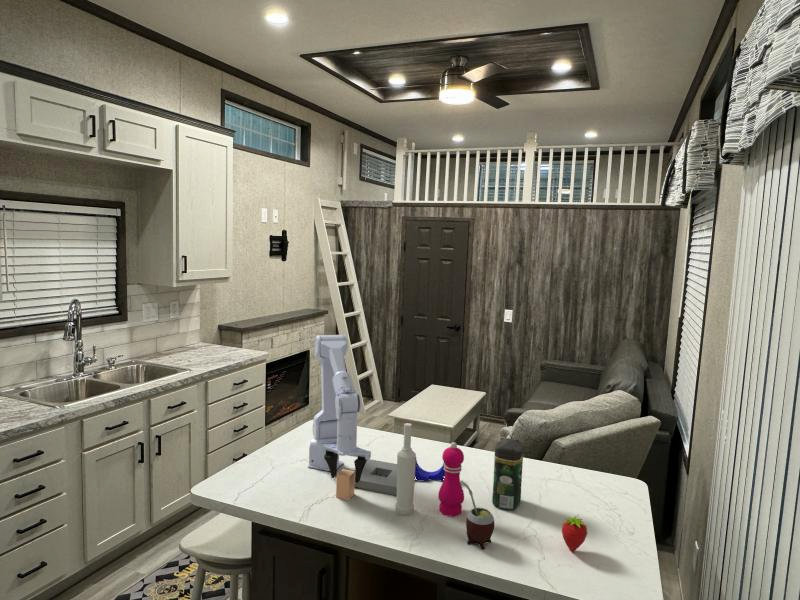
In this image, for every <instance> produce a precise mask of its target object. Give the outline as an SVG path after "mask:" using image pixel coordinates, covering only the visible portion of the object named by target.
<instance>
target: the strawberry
mask: <svg viewBox="0 0 800 600" xmlns="http://www.w3.org/2000/svg"><path fill="white" fill-rule="evenodd" d="M579 515H580V514H577V515H575V516H574V517H570V516H567V518H564V520H566V521H564V522H563V524H562V527H561V534H562V539H563V540H564V542H565V545H566V546H567V548H568V550H569V551H570V552H571V553H574V552H575V551H576V550H578V548H579V547H581V545H582V544H583V543H584V542H585V540H586V538H587V536H588V527H587V524H585V523H584V522H583V521H582V520H583V519H582V518H577V517H578V516H579Z"/></svg>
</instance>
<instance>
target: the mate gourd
mask: <svg viewBox="0 0 800 600" xmlns="http://www.w3.org/2000/svg"><path fill="white" fill-rule="evenodd" d="M460 483H462V484H463V485H464V486H465V487H466V489H467V490H468V493H469V496H470V499H471V502H472V506H473V508H471V510H470V511H469V512H468V513H467V516H466V522H465V529H466V536H467V541H466V543H467V545H478V546H479V547H480V549H481V550H485V549H486V547H485V544H490V543H492V539H491V537H492V535H493V533H494V531H495V517H494V515H493V514H492V512H491V511H490V510H489V509H487V508H485V507H476V502H475V499H474V496H473V494H474V493H473V491H472V490H471V488H470V487H469V485H468V484H467V483H466V482H465V481H463V479H460Z"/></svg>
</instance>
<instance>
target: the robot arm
mask: <svg viewBox="0 0 800 600" xmlns="http://www.w3.org/2000/svg"><path fill="white" fill-rule="evenodd" d="M348 347H349V340H348V337H347V336H346V334H344V333H343V334H326V335H325V334H322V335H320V334H317V335H316V336H315V339H314V358H315V360H318V361H319V362H320V367H321V368H320V372H321V373H320V374H321V375H320V376H321V377H320V380H321V385H320V386H321V410H320V411H318V413H316V414H315V415H314V417H313V422H312V436H313V438H312V439H311V441H310V444H309V447H308V449H309V451H308V453H309V455H308V465H307V467H308V468H311V469H316V470H322V471H327V472H329V473H330V477H331V479H334V478H335V477H337V474H338V468H340V467H341V466H342V465H343V464H344V461H342V460H340V457H341V456H345V457H346V456H349V457H354V458H356V459H355V460H354V461H353V463H354V469H355V470H354V471H355V482H357V483H358V482H359V481H360V478H361V474H362V471H363V468H364V466H365V464H366V462H367V460H369V459H371V457H372V450H367V449H365V448H364V449H363V448H362V447H358V446H357V443H358V442H357V441H358V440H357V439H358V438H357V437H358V413H360V410H361V405H362V404H361V396H360V393H359V392H358V391H357V389H355V387H354V383H353V379H352V376H351V374H350V373H349V372H347V369H346V361H345V356H346V355H347V352H348ZM339 466H340V467H339Z"/></svg>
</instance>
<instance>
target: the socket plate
mask: <svg viewBox="0 0 800 600" xmlns="http://www.w3.org/2000/svg"><path fill="white" fill-rule="evenodd" d="M376 474H378V475H376ZM379 475H383V476H379ZM385 476H387V477H385ZM356 487H358V488H357V489H362V490H366V489H367V490H368V491H371V490H372V492H376V491H377V493H383V494H387V495H393V496H397V463H393V462H387V461H381V460H377V459H371V458H370V459H369V460H367V462H366V464H365V466H364V468H363V471H362V474H361V478H360V481H359V482H358V483H357V482H355V484H354V488H356ZM367 490H366V491H367Z"/></svg>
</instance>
